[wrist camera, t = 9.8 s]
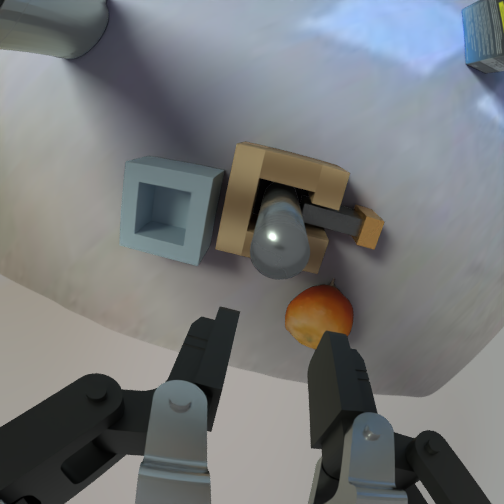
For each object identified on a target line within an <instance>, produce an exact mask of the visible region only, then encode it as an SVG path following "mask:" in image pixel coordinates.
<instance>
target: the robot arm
mask: <svg viewBox="0 0 504 504" xmlns="http://www.w3.org/2000/svg"><path fill="white" fill-rule="evenodd" d="M108 16H109V13H108V8H107V6H106V0H0V49H3V50H13V51H22V52H29V53H36V54H43V55H49V56H54V57H58V58H65V59H73V58H77V57H79V56H81V55H83V54H85V53H86V52H88V51H89V50H90V49H91V48H92V47H93V46H94V45H95V44H96V43H97V42H98V40H99V39H100V37H101V36H102V34H103V32H104V30H105V28H106V25H107V22H108ZM239 314H240V311H236V310H232V309H228V308H224V307H219V310H218V313H217V316H216V319H215V320H213V319H209V318H205V317H200V318H199V319H198V320H196V321H195V322H194V323H192V325H191V327H190V329H189V331H188V334H187V336H186V338H185V341H184V343H183V345H182V347H181V350H180V352H179V354H178V357H177V359H176V361H175V364H174V366H173V369H172V371H171V373H170V376H169V378H168V380H167V381H166V382H165V383H163V384H161V385H160V386H159V387H158V388H156V389H153V390H148V391H134V390H123V389H121V387H120V386H119V384H118V383H117V382H116V381H115V380H114V379H113V378H111V377H109V376H106V375H104V374H97V373H96V374H88V375H85V376H83V377H81V378H79V379H78V380H76V381H75V382H73V383H71V384H70V385H68V386H66V387H65V388H63V389H62V390H60V391H59V392H57V393H55V394H54V395H52V396H50V397H49V398H47V399H46V400H44V401H42V402H41V403H39V404H38V405H36V406H34V407H33V408H31V409H29V410H28V411H26V412H25V413H23V414H21V415H20V416H18V417H17V418H15V419H13V420H11V421H10V422H8V423H7V424H5V425H3V426H2V427H0V504H64V503H66V502H67V501H68V500H70V499H71V498H72V497H74V496H75V495H76V494H78V493H79V492H80V491H82V490H83V489H84V488H86V487H87V486H88V485H89V484H91V483H92V482H93V481H95V480H96V479H97V478H98V477H100V476H101V475H102V474H103V473H105V472H106V471H107V470H108V469H109V468H111V467H112V466H113V465H114V464H115V463H117V462H118V461H119V460H120V459H122V458H123V457H124V456H125V455H126V454H128V455H141V456H144V459H143V462H141V465H140V469H139V474H138V482H137V491H136V501H135V504H211V489H210V488H211V486H210V474H209V471H208V469H207V431H210V432H211V431H212V427H213V423H214V418H215V415H216V411H217V407H218V404H219V400H220V396H221V392H222V387H223V384H224V379H225V375H226V371H227V366H228V362H229V358H230V353H231V349H232V345H233V340H234V336H235V332H236V327H237V323H238V318H239ZM366 371H367V370H366V366H365V363H364V360H363V358H362V357H361V356H360V354H359V353H358V352H357V350H356V349H350V346H349V342H348V338H347V335H346V334H343V333H337V332H332V331H325V332H324V334H323V336H322V338H321V340H320V342H319V344H318V346H317V348H316V350H315V352H314V355H313V357H312V359H311V361H310V364H309V368H308V391H309V410H310V436H311V448H314V449H315V448H316V449H322V457H321V458H320V459H319V460H318V462H317V464H316V468H315V473H314V478H313V483H312V488H311V492H310V497H309V501H308V504H428V503H427V502H426V500H425V499H424V498H423V496H422V494H421V493H420V491H419V489H418V488H417V487H416V485H415V483H416V482H418V481H419V480H420V481H421V482H422V484H423V485H424V487H425V488H426V489H427V491H428V493H429V494H430V496H431V497H432V499H433V500H434V502H435V503H436V504H491V503H490V501H489V500H488V498H487V497H486V495H485V494H484V492H483V491H482V490H481V488H480V487H479V485H478V484H477V483H476V481H475V480H474V479H473V477H472V476H471V475H470V473H469V471H468V470H467V469H466V467H465V466H464V465H463V463H462V462H461V461H460V459H459V458H458V457H457V455H456V454H455V452H454V451H453V450H452V448H451V447H450V446H449V444H448V443H447V442H446V440H445V439H444V438H443V437H442V436H441V435H440V434H439V433H437V432H434V431H430V430H427V431H423V432H421V433H420V434H419V435H418V436H417V437H416V438H411V437H408V436H404V435H401V434H398V433H395V432H394V431H393V428H392V426H391V424H390V423H389V422H388V420H387V419H386V418H384V417H383V416H381V415H379V414H378V413H377V409H376V405H375V401H374V397H373V393H372V389H371V385H370V382H369V378H368V374H367V373H366Z"/></svg>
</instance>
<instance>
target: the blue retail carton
mask: <svg viewBox="0 0 504 504" xmlns="http://www.w3.org/2000/svg"><path fill="white" fill-rule="evenodd" d="M462 17H463V27H464V39H465V57H466V64H467V65H469V66H471V67H473V68H475V69H477V70H479V71H482V72H484V73H493V72H500V71H504V0H479V1H477V2H475V3H473V4H471V5H469V6H467V7H466V8H464V9H462Z"/></svg>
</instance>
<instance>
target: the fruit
mask: <svg viewBox="0 0 504 504" xmlns="http://www.w3.org/2000/svg"><path fill="white" fill-rule="evenodd" d="M334 280H335V279H334V278H333V280H332V282H331V284H330V285H325V284H323V285H318V286H314V287H310V288H308V289H306V290H305V291H303V292H302V293H300V294H299V295H298V296H297V297H295V298H294V299H293V300H292V301H291V302H290V304H289V305H288V307H287V310H286V315H285V327H286V330H288V331H289V332H290V333H291V335H292V336H293V337H294V338H295V339H296V340H298V342H299V343H301V344H303V345H305V346H307V347H310V348H313V349H316V348H317V346H318V344H319V342H320V340H321V338H322V336H323V334H324V332H325V331H332V332H337V333H343V334H346V335H347V337H348V335H349V333H350V332H351V328H352V325H353V308H352V305H351V303H350V302H349V300H348V299H347V298H346V297H345V296H344V295H343V294H342V293H341V292H340V291H339V290H338V289H337V288H336V287H335V286H334Z"/></svg>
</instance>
